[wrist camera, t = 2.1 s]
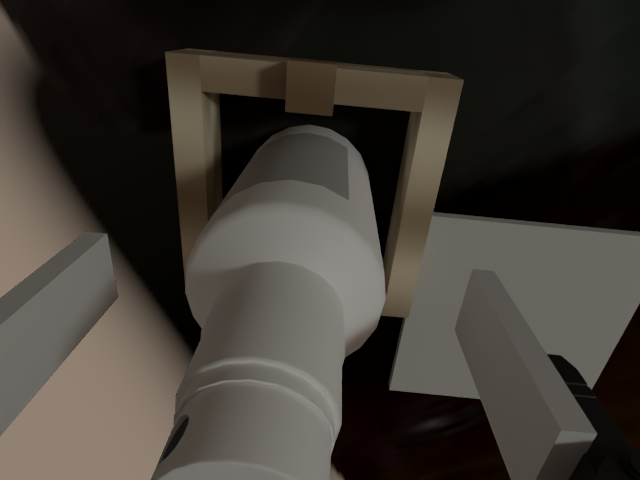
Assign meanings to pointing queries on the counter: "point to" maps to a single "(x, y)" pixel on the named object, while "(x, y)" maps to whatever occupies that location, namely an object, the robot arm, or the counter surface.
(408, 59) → the counter surface
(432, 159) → the wooden square frame
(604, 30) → the counter surface
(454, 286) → the mat
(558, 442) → the robot arm
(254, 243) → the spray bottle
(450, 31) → the counter surface
